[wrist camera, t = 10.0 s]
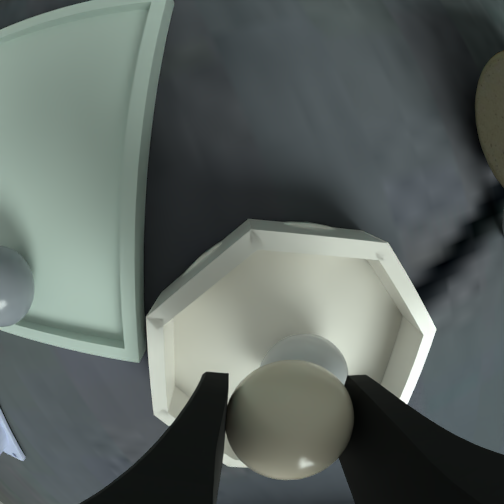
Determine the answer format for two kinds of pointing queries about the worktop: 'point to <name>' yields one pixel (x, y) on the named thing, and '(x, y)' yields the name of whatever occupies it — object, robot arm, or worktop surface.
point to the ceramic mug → (492, 115)
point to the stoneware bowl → (285, 310)
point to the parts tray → (81, 167)
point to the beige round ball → (289, 419)
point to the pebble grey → (309, 353)
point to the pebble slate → (14, 287)
